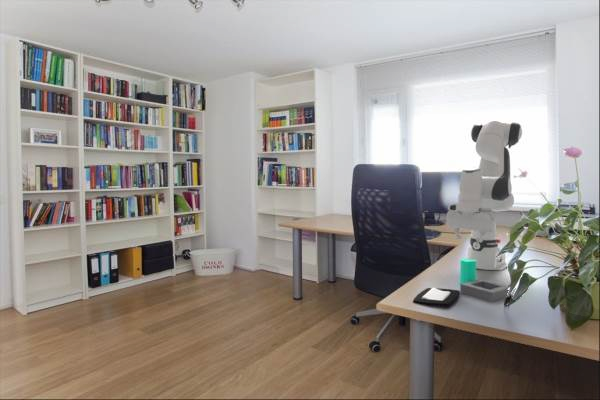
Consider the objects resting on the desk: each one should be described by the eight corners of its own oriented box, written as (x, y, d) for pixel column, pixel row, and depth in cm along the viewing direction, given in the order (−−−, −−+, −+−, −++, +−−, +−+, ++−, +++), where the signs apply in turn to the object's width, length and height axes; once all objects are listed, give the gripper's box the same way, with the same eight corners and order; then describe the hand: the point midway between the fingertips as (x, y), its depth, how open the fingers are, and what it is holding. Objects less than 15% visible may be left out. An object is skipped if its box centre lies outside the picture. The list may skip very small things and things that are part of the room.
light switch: (425, 284, 154) (462, 287, 146) (426, 291, 154) (462, 294, 146) (409, 298, 138) (449, 302, 130) (410, 306, 138) (450, 310, 130)
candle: (478, 286, 157) (479, 257, 156) (464, 286, 157) (465, 258, 156) (471, 282, 163) (472, 254, 162) (457, 282, 163) (458, 254, 162)
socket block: (479, 287, 156) (479, 278, 156) (511, 295, 145) (512, 286, 145) (460, 292, 149) (460, 283, 149) (492, 302, 138) (492, 292, 138)
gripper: (499, 209, 150) (497, 243, 151) (453, 205, 167) (452, 236, 168) (490, 209, 147) (488, 245, 148) (444, 205, 164) (443, 237, 165)
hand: (468, 240), depth 158 cm, fingers open, 8 cm apart
